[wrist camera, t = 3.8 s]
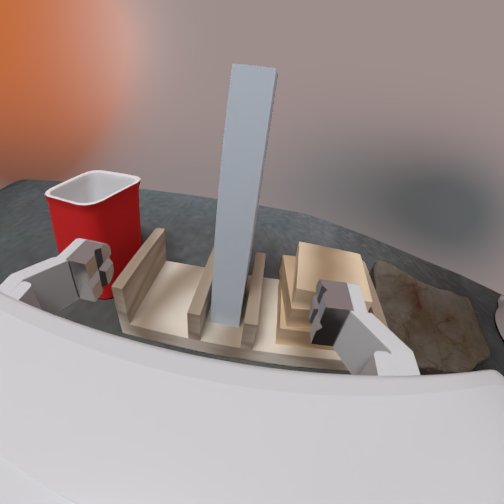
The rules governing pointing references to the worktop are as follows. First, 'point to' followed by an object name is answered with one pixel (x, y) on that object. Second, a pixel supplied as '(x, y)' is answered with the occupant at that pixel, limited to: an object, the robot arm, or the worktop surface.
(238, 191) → the tall board
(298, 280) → the offcut stack
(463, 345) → the brown flat slab
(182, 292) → the offcut rack
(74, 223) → the mug
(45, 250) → the worktop surface
